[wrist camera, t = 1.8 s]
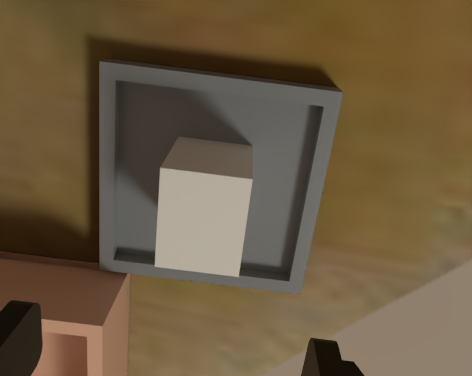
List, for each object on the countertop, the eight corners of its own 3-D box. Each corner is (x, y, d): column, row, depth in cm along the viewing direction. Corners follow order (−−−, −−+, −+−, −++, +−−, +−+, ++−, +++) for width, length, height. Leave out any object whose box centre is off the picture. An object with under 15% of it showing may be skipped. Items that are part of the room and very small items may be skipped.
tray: (108, 58, 22) (99, 61, 21) (338, 87, 22) (343, 92, 21) (106, 257, 27) (99, 269, 26) (298, 280, 27) (300, 294, 26)
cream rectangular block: (178, 136, 23) (160, 167, 19) (252, 145, 23) (252, 179, 19) (172, 219, 25) (154, 266, 20) (241, 227, 25) (238, 276, 21)
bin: (-78, 241, 27) (-154, 295, 22) (130, 267, 27) (102, 326, 22) (-50, 395, 32) (-107, 468, 27) (126, 416, 32) (102, 492, 27)
